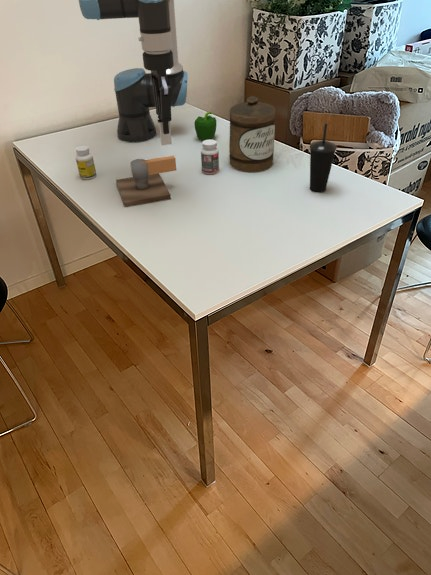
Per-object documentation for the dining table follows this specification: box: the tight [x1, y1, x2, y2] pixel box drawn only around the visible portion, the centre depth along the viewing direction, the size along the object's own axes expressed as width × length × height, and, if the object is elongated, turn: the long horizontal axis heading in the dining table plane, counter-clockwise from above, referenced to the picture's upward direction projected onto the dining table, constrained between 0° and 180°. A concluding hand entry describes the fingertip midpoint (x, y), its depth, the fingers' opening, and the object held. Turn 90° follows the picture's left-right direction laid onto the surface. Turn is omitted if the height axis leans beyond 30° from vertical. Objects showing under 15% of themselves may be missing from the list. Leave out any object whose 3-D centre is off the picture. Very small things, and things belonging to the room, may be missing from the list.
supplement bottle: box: [75, 145, 97, 180], centre depth 148 cm, size 5×5×10 cm
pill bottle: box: [200, 139, 220, 175], centre depth 148 cm, size 6×6×10 cm
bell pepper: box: [194, 110, 217, 142], centre depth 170 cm, size 8×8×10 cm
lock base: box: [115, 173, 172, 208], centre depth 140 cm, size 16×14×5 cm
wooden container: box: [228, 95, 276, 173], centre depth 148 cm, size 15×15×22 cm
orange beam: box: [129, 155, 177, 179], centre depth 138 cm, size 14×5×4 cm, turn 108°
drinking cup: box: [309, 123, 338, 194], centre depth 133 cm, size 8×8×20 cm
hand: (166, 143), depth 127 cm, fingers closed
